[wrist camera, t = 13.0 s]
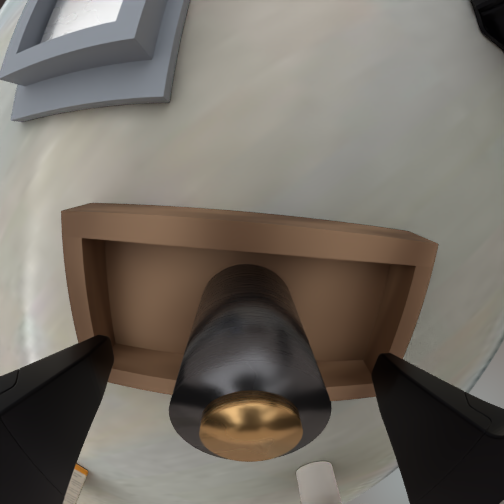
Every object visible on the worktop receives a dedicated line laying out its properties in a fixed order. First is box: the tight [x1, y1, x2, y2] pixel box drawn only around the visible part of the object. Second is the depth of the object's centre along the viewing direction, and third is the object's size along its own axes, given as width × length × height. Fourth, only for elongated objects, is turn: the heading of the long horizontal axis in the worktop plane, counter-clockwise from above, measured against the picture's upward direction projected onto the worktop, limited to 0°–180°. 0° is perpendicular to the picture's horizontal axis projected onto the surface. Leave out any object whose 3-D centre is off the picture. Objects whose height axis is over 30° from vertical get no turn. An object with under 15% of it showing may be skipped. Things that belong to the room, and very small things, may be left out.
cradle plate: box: [40, 0, 123, 44], centre depth 7 cm, size 5×5×1 cm
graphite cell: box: [169, 264, 331, 462], centre depth 9 cm, size 4×4×7 cm
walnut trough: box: [61, 203, 438, 401], centre depth 11 cm, size 15×8×2 cm, turn 85°
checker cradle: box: [0, 0, 190, 122], centre depth 7 cm, size 9×11×3 cm
